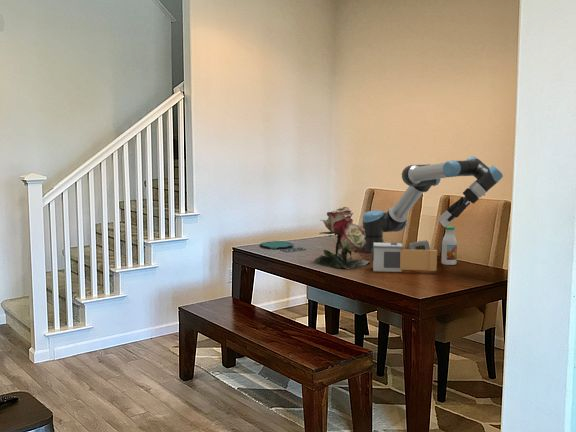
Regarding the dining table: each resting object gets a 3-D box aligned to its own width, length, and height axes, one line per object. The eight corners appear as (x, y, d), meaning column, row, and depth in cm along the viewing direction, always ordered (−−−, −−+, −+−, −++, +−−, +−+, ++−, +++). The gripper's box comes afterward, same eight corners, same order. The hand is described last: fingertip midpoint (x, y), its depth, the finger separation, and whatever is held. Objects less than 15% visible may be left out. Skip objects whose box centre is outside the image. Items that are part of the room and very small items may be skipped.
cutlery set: (281, 243, 384) (281, 239, 383) (309, 251, 360) (309, 247, 359) (254, 246, 373) (254, 242, 372) (282, 254, 348) (282, 251, 348)
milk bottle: (440, 264, 317) (441, 227, 314) (442, 262, 324) (443, 225, 321) (455, 265, 314) (457, 227, 311) (456, 263, 321) (458, 225, 319)
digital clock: (413, 264, 318) (414, 244, 317) (402, 261, 326) (403, 241, 325) (436, 261, 326) (437, 241, 325) (425, 258, 334) (426, 239, 333)
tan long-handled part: (435, 269, 297) (436, 249, 296) (436, 270, 294) (437, 250, 293) (399, 268, 299) (400, 248, 298) (400, 270, 296) (400, 250, 295)
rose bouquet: (353, 271, 301) (354, 211, 297) (308, 263, 320) (309, 207, 316) (382, 263, 320) (383, 207, 316) (337, 256, 339) (338, 203, 335)
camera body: (400, 268, 308) (401, 241, 306) (402, 272, 297) (402, 244, 296) (371, 267, 310) (371, 240, 308) (371, 271, 299) (372, 244, 297)
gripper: (484, 201, 276) (449, 232, 280) (474, 196, 301) (442, 224, 305) (473, 189, 276) (438, 221, 280) (464, 185, 301) (432, 214, 305)
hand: (440, 223), depth 292 cm, fingers open, 13 cm apart
